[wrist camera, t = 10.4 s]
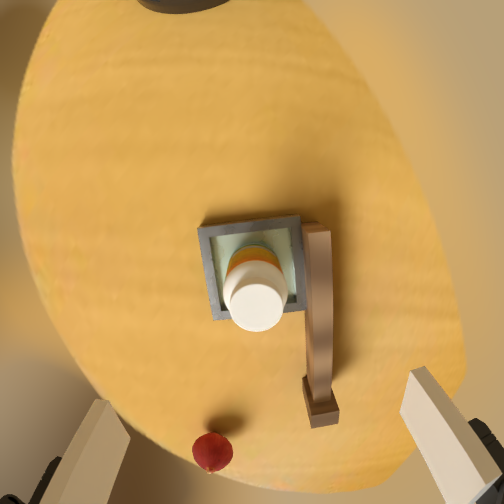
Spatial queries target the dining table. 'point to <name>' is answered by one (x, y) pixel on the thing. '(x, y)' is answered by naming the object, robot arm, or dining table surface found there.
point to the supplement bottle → (255, 287)
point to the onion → (212, 452)
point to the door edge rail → (319, 325)
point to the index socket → (246, 232)
